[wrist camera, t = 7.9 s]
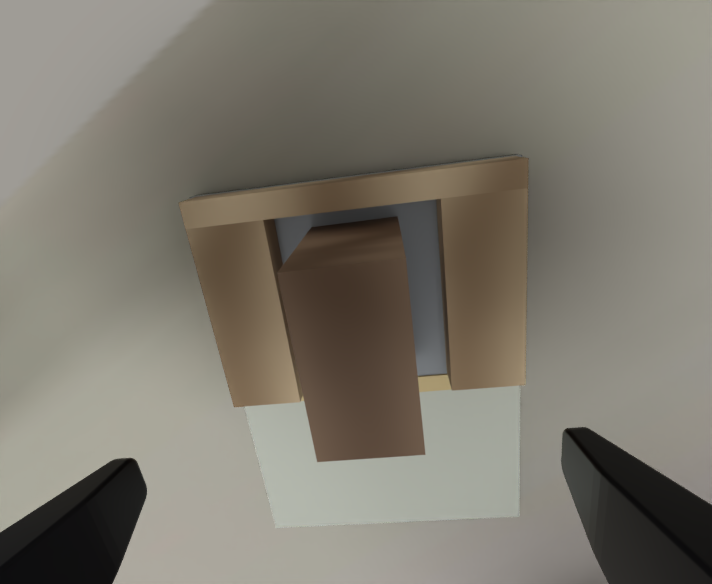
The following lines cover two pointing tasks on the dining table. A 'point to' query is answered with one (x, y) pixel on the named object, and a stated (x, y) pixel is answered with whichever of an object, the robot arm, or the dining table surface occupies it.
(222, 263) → the rails
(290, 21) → the dining table surface
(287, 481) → the door board
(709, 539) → the robot arm
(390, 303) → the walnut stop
